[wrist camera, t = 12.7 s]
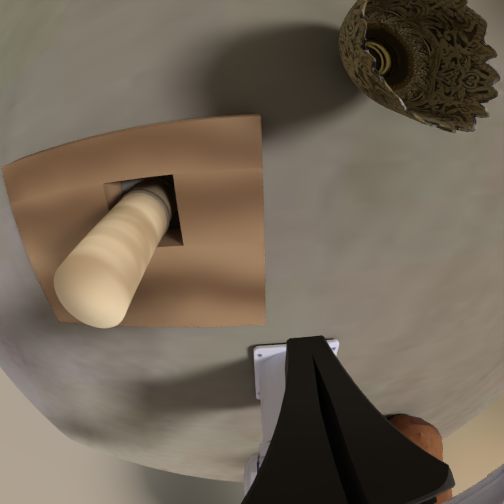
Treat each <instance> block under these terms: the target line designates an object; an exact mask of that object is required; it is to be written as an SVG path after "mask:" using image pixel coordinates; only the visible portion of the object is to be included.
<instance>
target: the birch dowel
mask: <svg viewBox="0 0 504 504" xmlns="http://www.w3.org/2000/svg"><path fill="white" fill-rule="evenodd" d="M176 209H177V200H176V193H175V190H174V188H173V187H172V186H171V185H170V184H169V183H168V182H166V181H165V180H162V179H159V178H148V179H145V180H143V181H141V182H140V183H139V184H138V185H137V186H136V187H134V188H133V189H132V190H131V191H130V192H128V193H126V194H125V195H124V196H123V197H122V198H121V199H120V200H119V201H118V203H117V205H116V206H114V207H113V208H112V209H111V210H110V211H109V212H108V213H107V214H106V215H105V216H104V217H103V219H102V220H101V221H100V222H99V223H98V224H97V225H96V226H95V227H94V228H93V229H92V230H91V231H90V232H89V233H88V234H87V235H86V236H85V238H84V239H83V240H82V241H81V242H80V243H79V244H78V245H77V246H76V247H75V249H74V250H73V251H72V252H71V253H70V254H69V255H68V257H67V258H66V259H65V260H64V261H63V262H62V264H61V265H60V266H59V267H58V269H57V270H56V272H55V275H54V288H55V292H56V294H57V297H58V299H59V300H60V302H61V304H62V305H63V306H64V307H65V309H66V310H67V311H68V312H69V313H70V314H71V315H73V316H74V317H75V318H76V319H78V320H79V321H81V322H83V323H85V324H87V325H90V326H93V327H97V328H111V327H114V326H116V325H118V324H119V323H120V322H121V321H122V320H123V318H124V316H125V314H126V312H127V309H128V307H129V305H130V303H131V300H132V298H133V296H134V294H135V292H136V289H137V287H138V285H139V283H140V281H141V279H142V276H143V274H144V272H145V270H146V268H147V266H148V264H149V262H150V260H151V258H152V256H153V254H154V252H155V250H156V248H157V246H158V244H159V242H160V240H161V238H162V237H163V236H164V235H165V233H166V231H167V229H168V227H169V223H170V221H171V219H172V217H173V215H174V213H175V212H176Z"/></svg>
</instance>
